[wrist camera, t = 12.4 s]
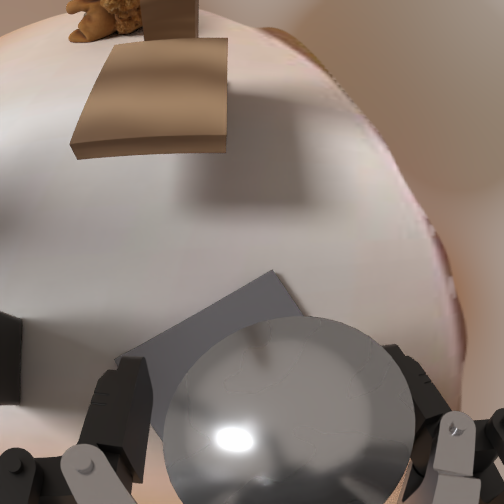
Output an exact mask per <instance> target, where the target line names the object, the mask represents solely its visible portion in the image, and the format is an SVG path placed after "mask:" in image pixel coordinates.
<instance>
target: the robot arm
mask: <svg viewBox="0 0 504 504" xmlns="http://www.w3.org/2000/svg"><path fill="white" fill-rule="evenodd" d="M382 347H383V348H384V349H385V350H386V352H387V353H388V354H389V355H390V356H391V357H392V358H393V360H394V361H395V362H396V364H397V365H398V366H399V368H400V370H401V372H402V374H403V375H404V377H405V379H406V381H407V384H408V387H409V389H410V392H411V396H412V400H413V405H414V412H415V436H414V442H413V448H412V452H411V455H410V458H411V461H410V463H409V465H408V468H407V472H406V475H405V479H404V482H403V485H402V489H401V492H400V495H399V498H398V501H397V504H504V481H503V479H502V477H501V476H500V473H499V472H498V470H497V468H496V466H495V464H494V460H496V458H497V457H498V456H499V458H500V459H501V461H502V463H503V465H504V408H501V409H498V410H497V411H496V412H495V413H494V414H493V416H492V417H491V418H490V419H487V420H475V421H473V420H472V419H471V418H470V417H469V416H468V415H467V414H465V413H463V412H460V411H452V410H451V409H450V407H449V406H448V404H447V403H446V401H445V400H444V399H443V397H442V396H441V394H440V393H439V391H438V390H437V388H436V387H435V385H434V384H433V383H431V380H430V378H429V377H428V375H426V373H425V371H424V370H423V368H422V367H421V366H420V364H419V363H418V362H416V361H415V360H414V359H412V358H411V357H410V356H405V355H404V354H403V352H402V351H401V349H400V348H399V347H398V345H396V344H391V345H385V346H382ZM152 407H153V388H152V384H151V380H150V376H149V371H148V367H147V363H146V359H145V357H139V356H122V357H121V359H120V362H119V366H118V369H117V370H107V371H106V372H105V373H104V375H103V376H102V377H101V378H100V379H99V380H98V383H97V385H96V388H95V391H94V395H93V397H92V400H91V404H90V406H89V409H88V412H87V415H86V418H85V422H84V425H83V428H82V431H81V435H80V438H79V441H78V443H77V445H75V446H72V447H70V448H69V449H68V450H67V451H66V452H65V453H64V454H63V455H62V456H59V457H47V458H33V456H32V455H31V454H30V453H29V452H28V451H26V450H25V449H22V448H11V449H8V450H6V451H5V452H3V453H2V455H1V456H0V504H137V502H136V501H135V500H134V498H133V497H132V495H131V490H132V482H133V483H141V484H142V483H143V474H144V465H145V457H146V449H147V442H148V434H149V427H150V420H151V414H152Z"/></svg>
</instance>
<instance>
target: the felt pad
mask: <svg viewBox="0 0 504 504" xmlns="http://www.w3.org/2000/svg"><path fill="white" fill-rule="evenodd" d="M291 316H304V315H303V314H302V312H301V311H300V309H299V308H298V306H297V305H296V303H295V302H294V301H293V299H292V298H291V296H290V295H289V293H288V292H287V290H286V289H285V287H284V286H283V284H282V283H281V281H280V280H279V278H278V277H277V275H276V274H275V272H274V271H273V270H271V271H269V272H267V273H266V274H264V275H262V276H260V277H259V278H257V279H255V280H254V281H252V282H250V283H249V284H247V285H245V286H243V287H242V288H240V289H238V290H237V291H235V292H233V293H231V294H230V295H228V296H226V297H224V298H223V299H221V300H219V301H218V302H216V303H214V304H212V305H211V306H209V307H207V308H205V309H204V310H202V311H200V312H198V313H197V314H195V315H193V316H191V317H190V318H188V319H186V320H184V321H182V322H181V323H179V324H177V325H175V326H174V327H172V328H170V329H168V330H166V331H165V332H163V333H161V334H159V335H158V336H156V337H154V338H152V339H150V340H149V341H147V342H145V343H143V344H141V345H139V346H138V347H136V348H134V349H132V350H130V351H129V352H127V353H125V354H123V355H121V356H119V357H118V358H116V359H114V360H115V362H116V364H117V366H119V362H120V359H121V357H122V356H139V357H145V359H146V363H147V367H148V371H149V376H150V380H151V384H152V388H153V407H152V414H151V420H150V423H151V425H152V426H153V428H154V430H155V431H156V433H157V434H158V436H159V437H160V439H161V440H162V442H163V432H164V425H165V419H166V415H167V412H168V409H169V405H170V402H171V400H172V398H173V396H174V394H175V392H176V389H177V387H178V386H179V384H180V382H181V381H182V379H183V378H184V376H185V375H186V373H187V372H188V371H189V370H190V368H191V367H192V366H193V365H194V364H195V363H196V362H197V360H198V359H199V358H200V357H201V356H202V355H204V354H205V353H206V352H207V351H208V350H209V349H210V348H211V347H213V346H214V345H216V344H217V343H218V342H220V341H221V340H223V339H224V338H226V337H227V336H229V335H231V334H233V333H235V332H237V331H239V330H241V329H243V328H245V327H248V326H251V325H253V324H256V323H259V322H262V321H267V320H271V319H275V318H282V317H291Z"/></svg>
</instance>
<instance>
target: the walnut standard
mask: <svg viewBox="0 0 504 504" xmlns="http://www.w3.org/2000/svg"><path fill="white" fill-rule="evenodd" d="M140 7H141V16H142V25H143V33H144V41H142V42H133V43H125V44H118V45H114V47H113V49H112V51H111V53H110V55H109V56H108V58H107V60H106V62H105V64H104V66H103V68H102V70H101V72H100V74H99V76H98V78H97V80H96V82H95V84H94V86H93V88H92V91H91V93H90V95H89V97H88V99H87V102H86V104H85V106H84V109H83V111H82V113H81V116H80V118H79V121H78V123H77V126H76V128H75V131H74V133H73V136H72V139H71V141H70V146H71V148H72V150H73V152H74V154H75V156H76V158H77V160H81V159H91V158H102V157H115V156H129V155H147V154H172V153H226V137H227V57H228V38H198V13H199V0H140Z"/></svg>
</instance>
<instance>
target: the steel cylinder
mask: <svg viewBox="0 0 504 504" xmlns="http://www.w3.org/2000/svg"><path fill="white" fill-rule="evenodd" d="M414 436H415V412H414V405H413V400H412V396H411V392H410V389H409V387H408V384H407V381H406V379H405V377H404V375H403V374H402V372H401V370H400V368H399V366H398V365H397V364H396V362H395V361H394V360H393V358H392V357H391V356H390V355H389V354H388V353H387V352H386V350H385V349H384V348H383V347H382V346H381V345H379V344H378V343H377V342H376V341H374V340H373V339H372V338H370V337H369V336H367V335H366V334H364V333H362V332H361V331H359V330H357V329H355V328H353V327H351V326H348V325H346V324H343V323H341V322H337V321H333V320H329V319H325V318H318V317H311V316H291V317H282V318H275V319H271V320H267V321H262V322H259V323H256V324H253V325H251V326H248V327H245V328H243V329H241V330H239V331H237V332H235V333H233V334H231V335H229V336H227V337H226V338H224V339H223V340H221V341H220V342H218V343H217V344H216V345H214V346H213V347H211V348H210V349H209V350H208V351H207V352H206V353H205V354H204V355H202V356H201V357H200V358H199V359H198V360H197V362H196V363H195V364H194V365H193V366H192V367H191V368H190V370H189V371H188V372H187V373H186V375H185V376H184V378H183V379H182V381H181V382H180V384H179V386H178V387H177V389H176V392H175V394H174V396H173V398H172V400H171V402H170V405H169V409H168V412H167V415H166V419H165V425H164V432H163V453H164V459H165V465H166V469H167V472H168V475H169V478H170V481H171V483H172V485H173V487H174V489H175V491H176V493H177V495H178V497H179V498H180V499H181V501H182V502H183V504H384V503H385V501H386V500H387V499H388V498H389V496H390V495H391V494H392V492H393V491H394V490H395V488H396V486H397V485H398V483H399V481H400V480H401V478H402V476H403V474H404V472H405V469H406V467H407V465H408V462H409V459H410V455H411V452H412V448H413V442H414Z"/></svg>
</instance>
